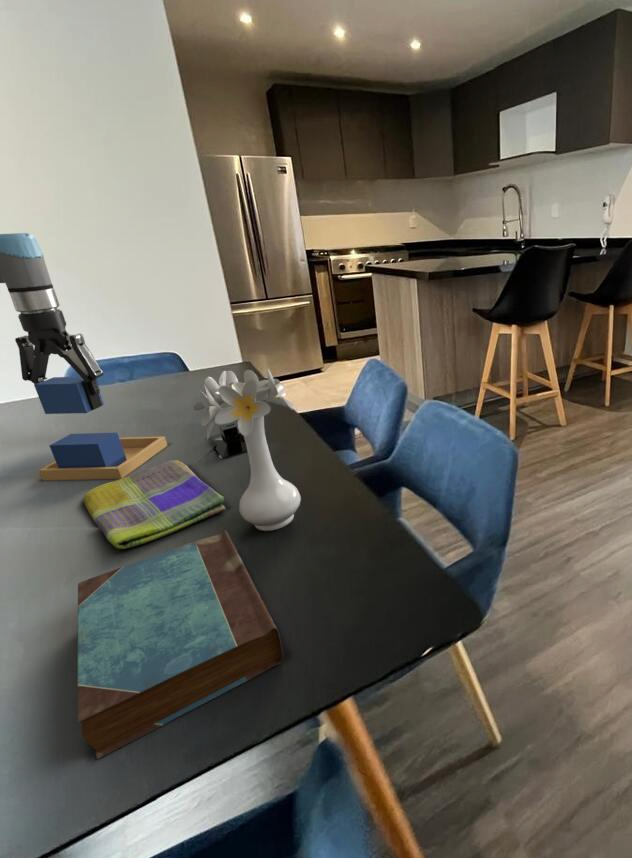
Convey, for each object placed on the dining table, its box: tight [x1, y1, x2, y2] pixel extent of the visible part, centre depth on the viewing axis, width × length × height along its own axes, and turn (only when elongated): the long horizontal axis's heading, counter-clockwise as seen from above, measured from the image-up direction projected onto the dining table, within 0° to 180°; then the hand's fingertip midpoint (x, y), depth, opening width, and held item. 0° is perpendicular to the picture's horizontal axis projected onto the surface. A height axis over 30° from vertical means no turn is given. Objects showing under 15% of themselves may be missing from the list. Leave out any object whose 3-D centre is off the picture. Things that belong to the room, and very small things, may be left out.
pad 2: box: [48, 431, 127, 468], centre depth 98 cm, size 10×6×7 cm, turn 86°
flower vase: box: [193, 368, 302, 532], centre depth 75 cm, size 13×18×25 cm
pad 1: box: [33, 376, 105, 415], centre depth 112 cm, size 10×6×7 cm, turn 86°
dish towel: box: [82, 459, 227, 550], centre depth 85 cm, size 18×24×3 cm
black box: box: [213, 421, 248, 460], centre depth 108 cm, size 12×7×5 cm, turn 36°
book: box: [76, 530, 284, 760], centre depth 56 cm, size 23×18×5 cm
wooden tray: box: [38, 436, 168, 482], centre depth 103 cm, size 17×15×3 cm
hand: (74, 408), depth 113 cm, fingers closed on pad 1, 10 cm apart
